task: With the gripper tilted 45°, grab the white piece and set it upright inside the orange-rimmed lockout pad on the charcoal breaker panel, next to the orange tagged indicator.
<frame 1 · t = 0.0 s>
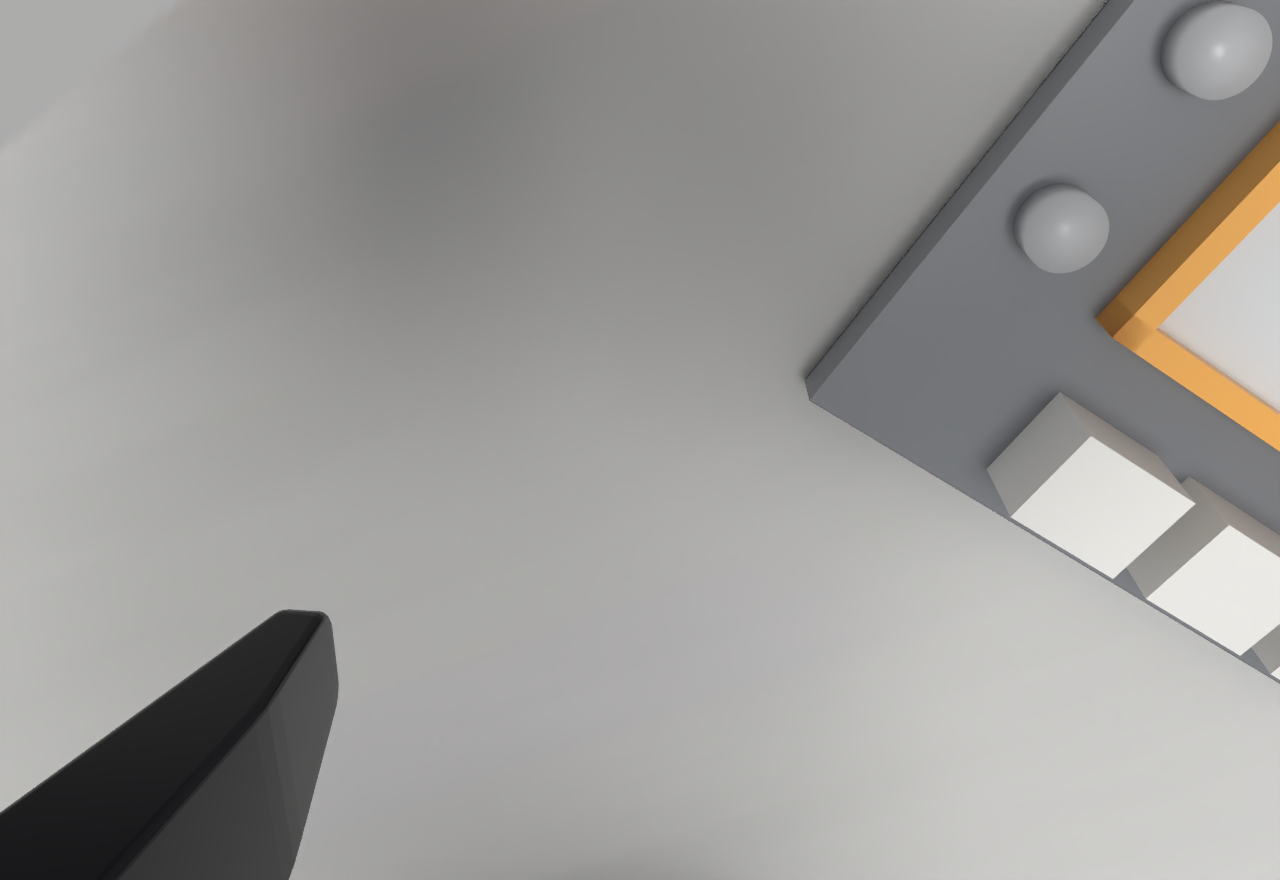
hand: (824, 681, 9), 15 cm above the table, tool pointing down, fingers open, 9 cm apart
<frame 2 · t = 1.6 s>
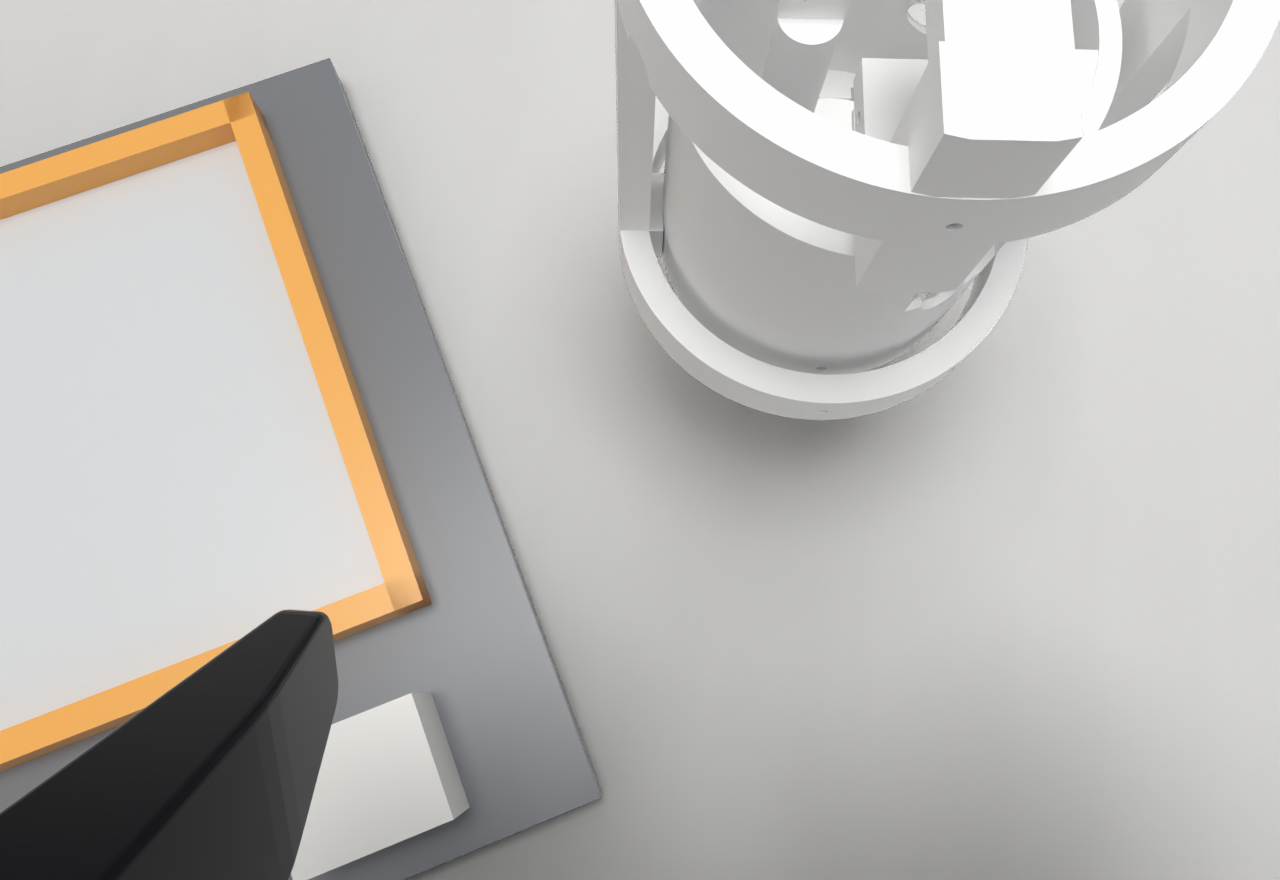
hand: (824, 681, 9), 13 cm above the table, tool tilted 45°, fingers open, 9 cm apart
breaker panel: (95, 453, 23), on the table
white piece: (769, 337, 24), on the table
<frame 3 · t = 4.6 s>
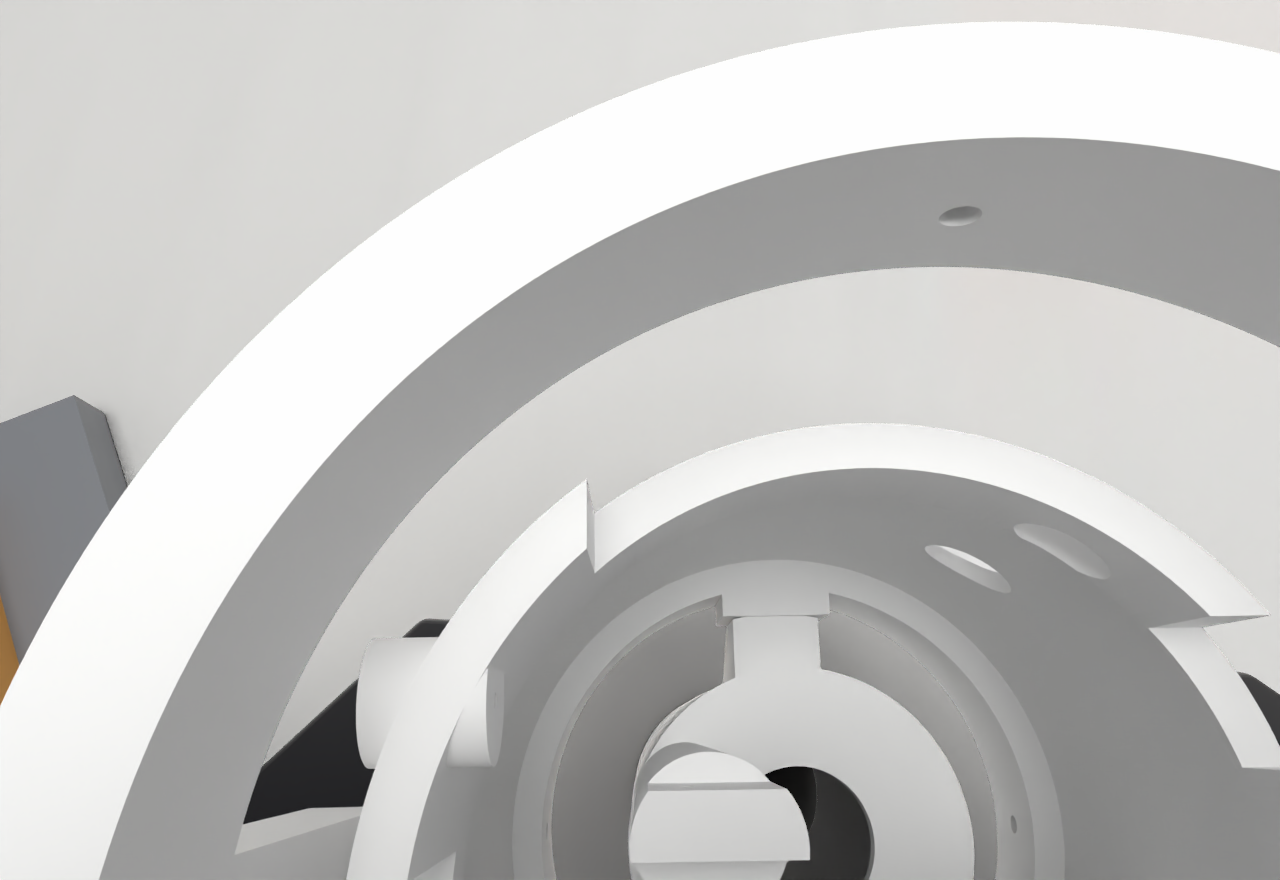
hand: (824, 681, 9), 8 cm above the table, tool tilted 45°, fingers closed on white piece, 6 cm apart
white piece: (730, 790, 16), on the table, touching gripper
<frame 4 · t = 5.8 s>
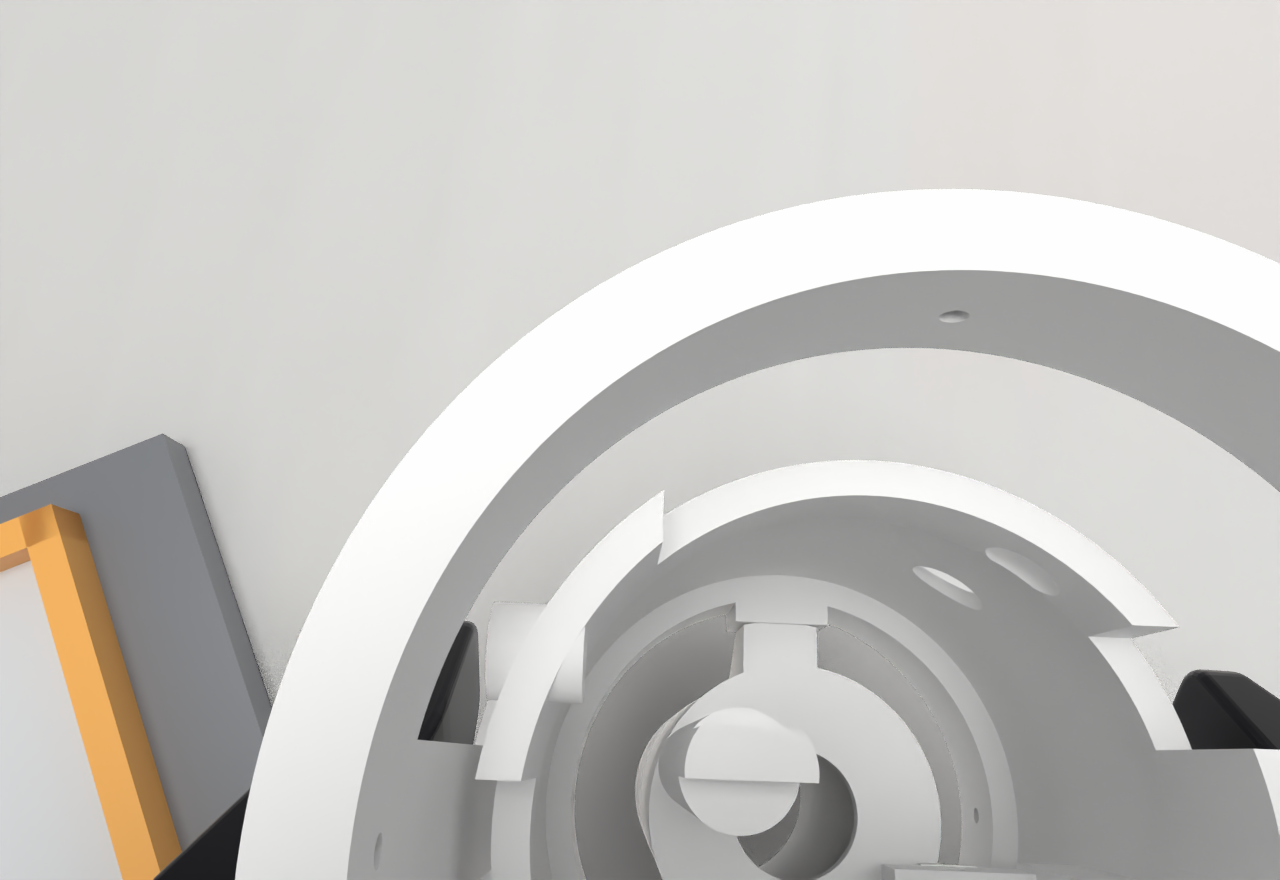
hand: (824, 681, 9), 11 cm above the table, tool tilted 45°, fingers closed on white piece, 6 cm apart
white piece: (722, 791, 18), point 1 cm above the table, touching gripper
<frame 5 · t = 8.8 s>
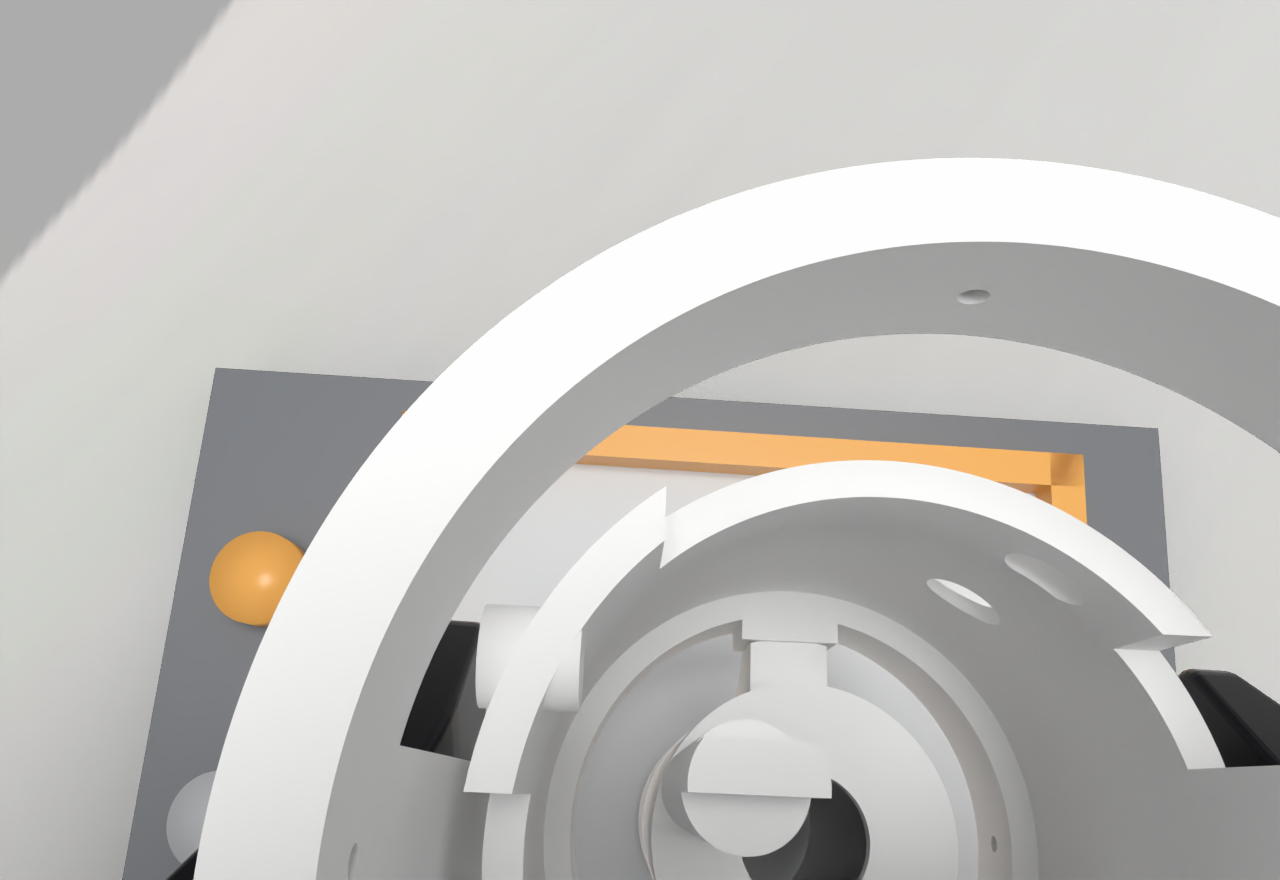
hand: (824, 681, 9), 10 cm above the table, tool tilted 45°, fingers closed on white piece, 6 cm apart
breaker panel: (718, 784, 19), on the table
white piece: (728, 821, 17), point 1 cm above the table, touching breaker panel, gripper
when the fingers open (10 cm above the table, at t = 9.3 s): white piece stays where it is, resting on breaker panel.
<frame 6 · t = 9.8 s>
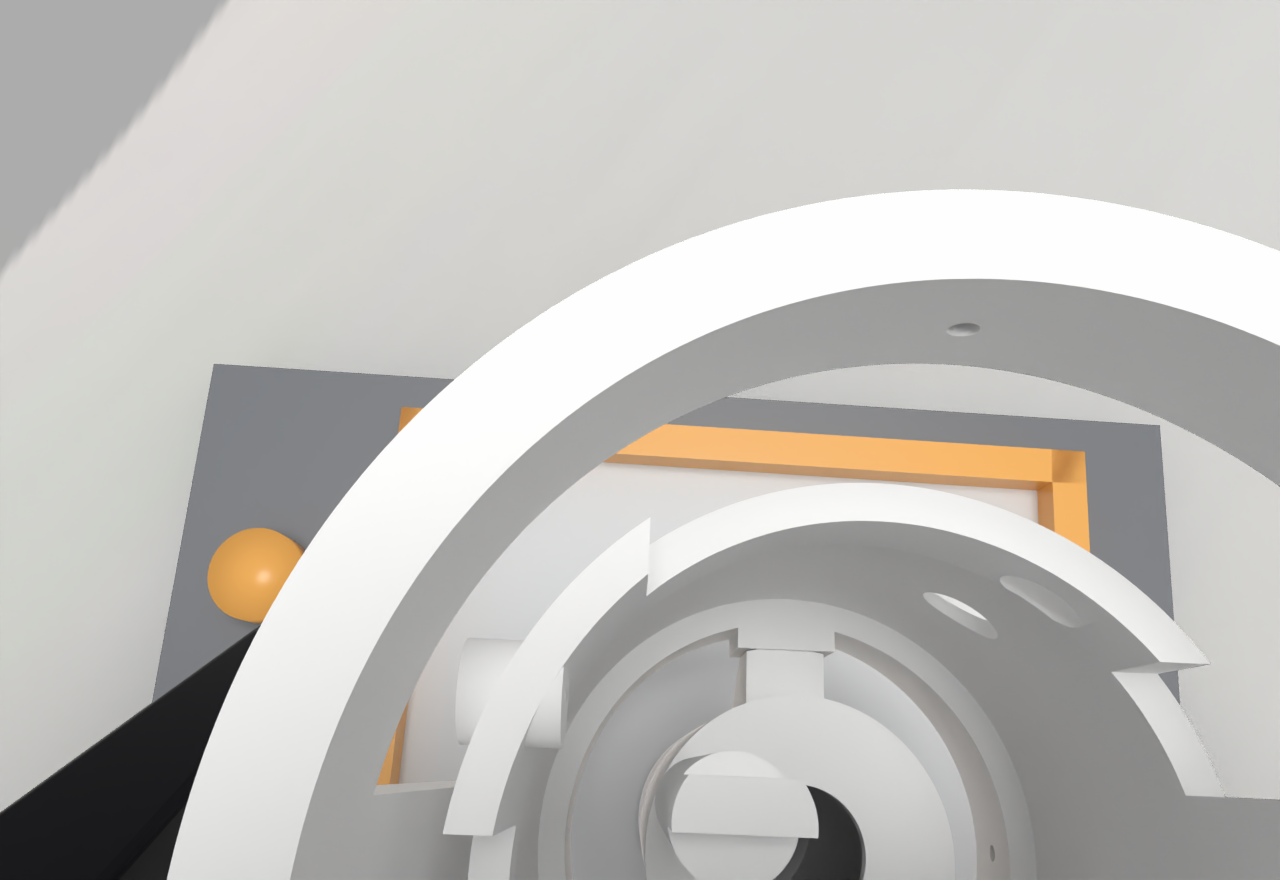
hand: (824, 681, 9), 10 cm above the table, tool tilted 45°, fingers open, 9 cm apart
breaker panel: (718, 782, 19), on the table
white piece: (728, 818, 17), point 1 cm above the table, touching breaker panel
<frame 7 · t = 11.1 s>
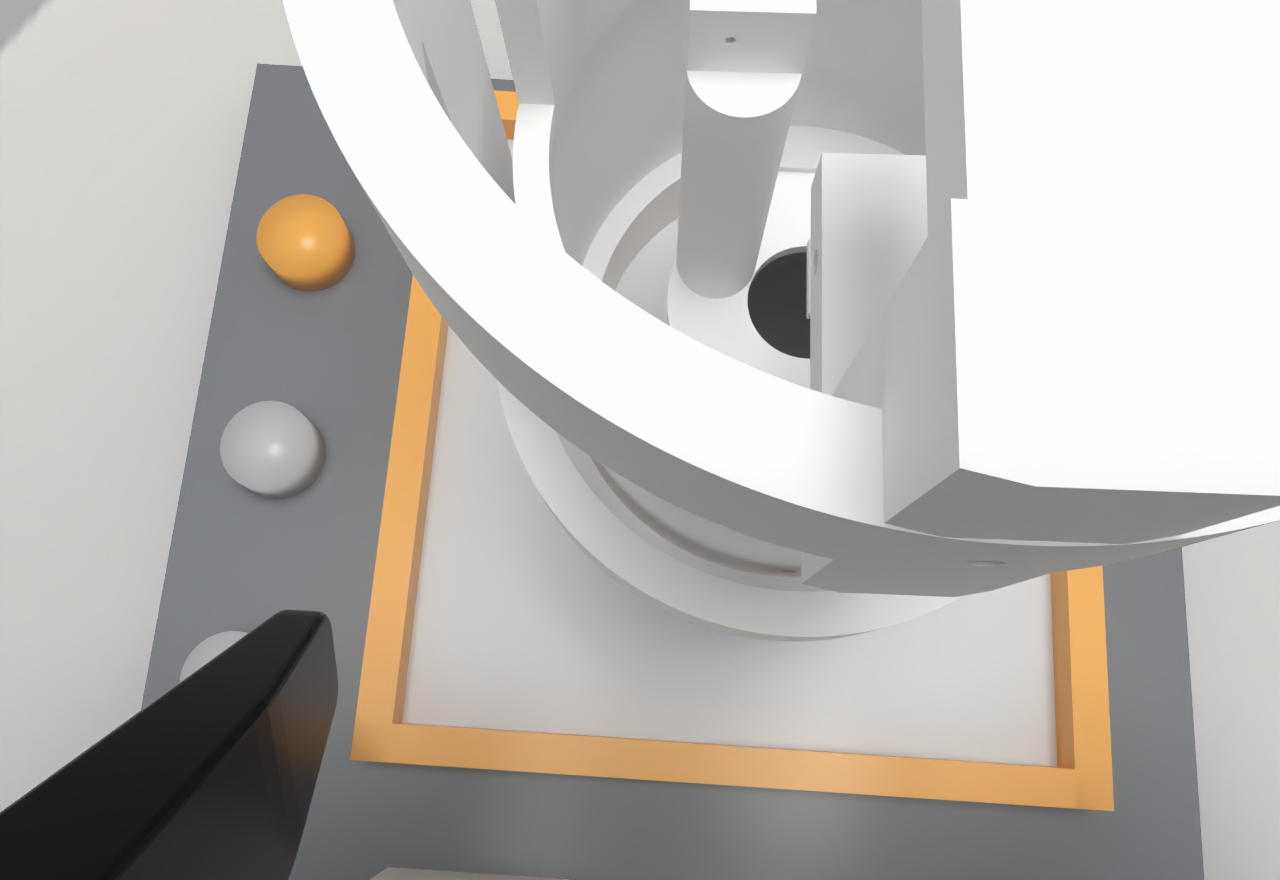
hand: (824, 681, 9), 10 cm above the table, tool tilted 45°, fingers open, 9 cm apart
breaker panel: (734, 445, 20), on the table
white piece: (745, 457, 19), point 1 cm above the table, touching breaker panel
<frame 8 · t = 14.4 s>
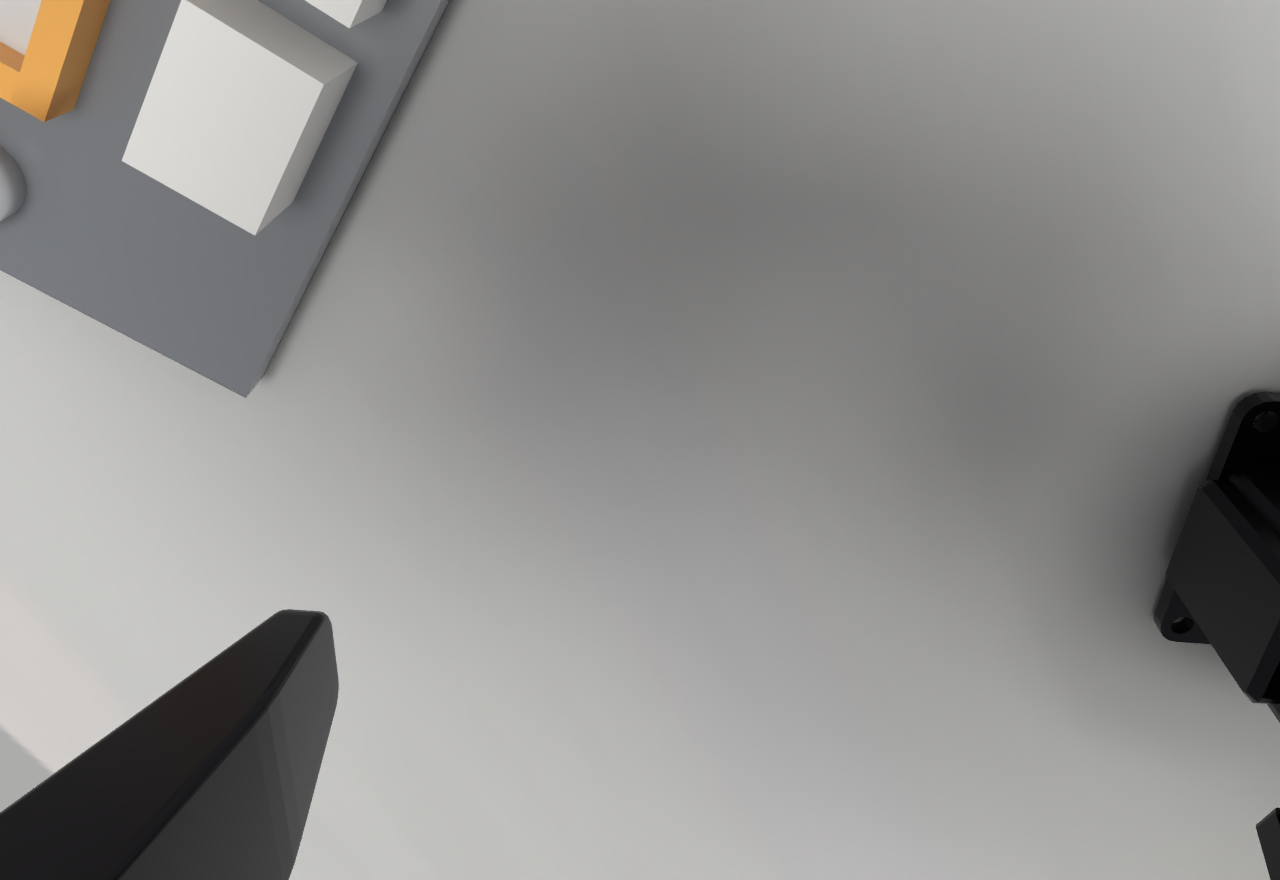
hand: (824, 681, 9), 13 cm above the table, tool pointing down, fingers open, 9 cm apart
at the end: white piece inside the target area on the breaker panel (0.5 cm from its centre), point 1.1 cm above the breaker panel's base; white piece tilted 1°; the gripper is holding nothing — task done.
